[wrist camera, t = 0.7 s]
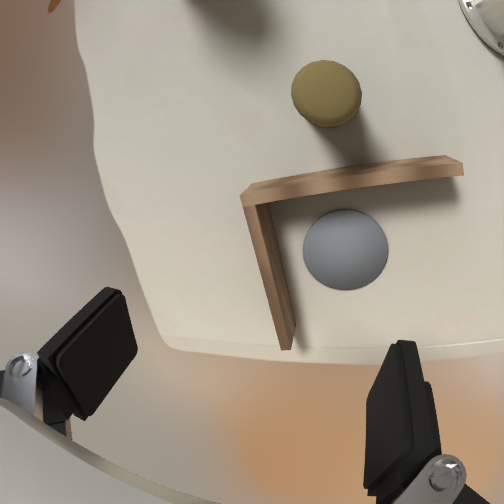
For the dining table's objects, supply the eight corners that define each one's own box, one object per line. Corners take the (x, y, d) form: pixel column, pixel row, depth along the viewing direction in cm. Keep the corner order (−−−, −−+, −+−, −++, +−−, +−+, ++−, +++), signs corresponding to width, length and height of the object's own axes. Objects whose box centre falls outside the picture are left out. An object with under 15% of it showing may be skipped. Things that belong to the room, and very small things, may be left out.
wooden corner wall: (444, 155, 27) (462, 162, 22) (445, 306, 34) (455, 330, 30) (251, 183, 34) (239, 195, 29) (287, 325, 41) (281, 350, 37)
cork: (367, 105, 27) (387, 101, 17) (323, 139, 30) (321, 150, 20) (328, 61, 26) (329, 35, 16) (285, 95, 29) (264, 86, 19)
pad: (383, 203, 31) (384, 205, 31) (389, 282, 35) (389, 284, 34) (295, 216, 34) (295, 217, 34) (310, 292, 38) (310, 293, 37)
